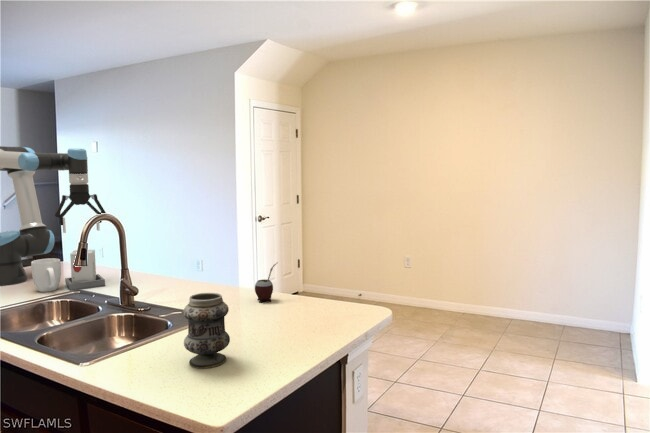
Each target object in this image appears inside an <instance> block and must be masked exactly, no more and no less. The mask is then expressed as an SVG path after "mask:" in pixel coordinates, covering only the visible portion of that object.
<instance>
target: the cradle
mask: <svg viewBox="0 0 650 433" xmlns="http://www.w3.org/2000/svg"><path fill="white" fill-rule="evenodd" d="M64 279H65V282H64V283H65V286H66V288H68V290H69V292H73V291H79V290H80V291H81V290H86V289H87V290H88V289H93V288H100V287H106V281H105V278H103V277H102V276H101V275H100V274H99V273H98V274H97V273H96V280H94V281H86V282H78V283H72V276H71V277H65V278H64Z"/></svg>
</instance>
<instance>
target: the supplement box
mask: <svg viewBox="0 0 650 433" xmlns="http://www.w3.org/2000/svg"><path fill="white" fill-rule="evenodd" d="M87 250H88V266H87V267H75V266H74V265H73V263H74V260H75V256H76V252H77V249H76V250H73V251H72V252H71V253H70V257H69V258H70V272H71V273H70V274H71V277H72V283H78V282H86V281H94V280H96V274H97V269H96V268H97V267H96V250H95V249H87Z"/></svg>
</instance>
